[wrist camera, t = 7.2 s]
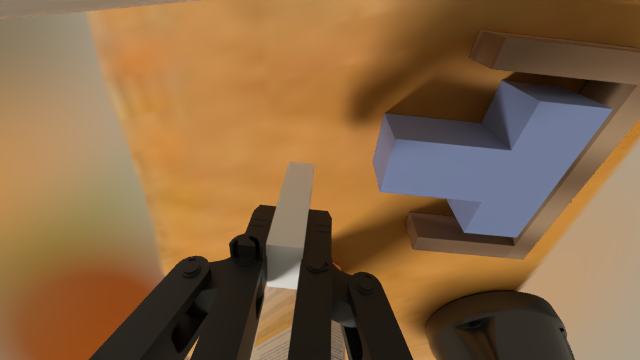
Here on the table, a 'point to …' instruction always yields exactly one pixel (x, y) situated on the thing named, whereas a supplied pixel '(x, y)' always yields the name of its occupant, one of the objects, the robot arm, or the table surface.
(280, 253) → the robot arm
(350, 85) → the table surface
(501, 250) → the walnut dock
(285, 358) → the supplement box
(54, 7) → the milk carton
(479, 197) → the slate blue t block
